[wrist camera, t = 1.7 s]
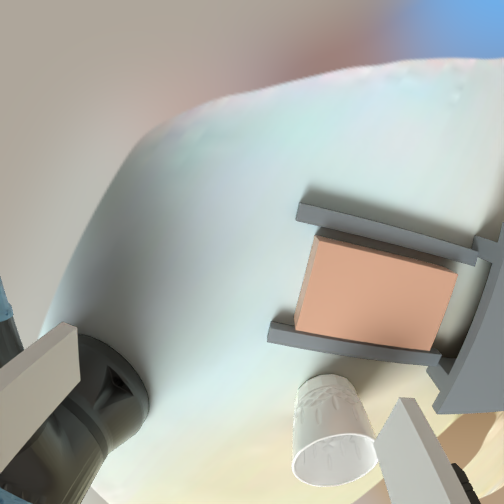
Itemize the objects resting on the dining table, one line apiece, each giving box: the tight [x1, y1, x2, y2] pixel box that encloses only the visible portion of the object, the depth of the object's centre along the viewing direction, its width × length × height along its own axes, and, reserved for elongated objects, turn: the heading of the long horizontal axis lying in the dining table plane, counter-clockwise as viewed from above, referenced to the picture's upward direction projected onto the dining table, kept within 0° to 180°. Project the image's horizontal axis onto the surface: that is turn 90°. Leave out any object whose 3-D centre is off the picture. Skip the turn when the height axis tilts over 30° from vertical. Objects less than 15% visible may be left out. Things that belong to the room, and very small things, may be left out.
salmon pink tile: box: [294, 235, 458, 351], centre depth 27 cm, size 14×8×3 cm, turn 79°
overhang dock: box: [267, 203, 504, 414], centre depth 26 cm, size 31×20×6 cm, turn 79°
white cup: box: [292, 374, 378, 487], centre depth 27 cm, size 8×8×10 cm
